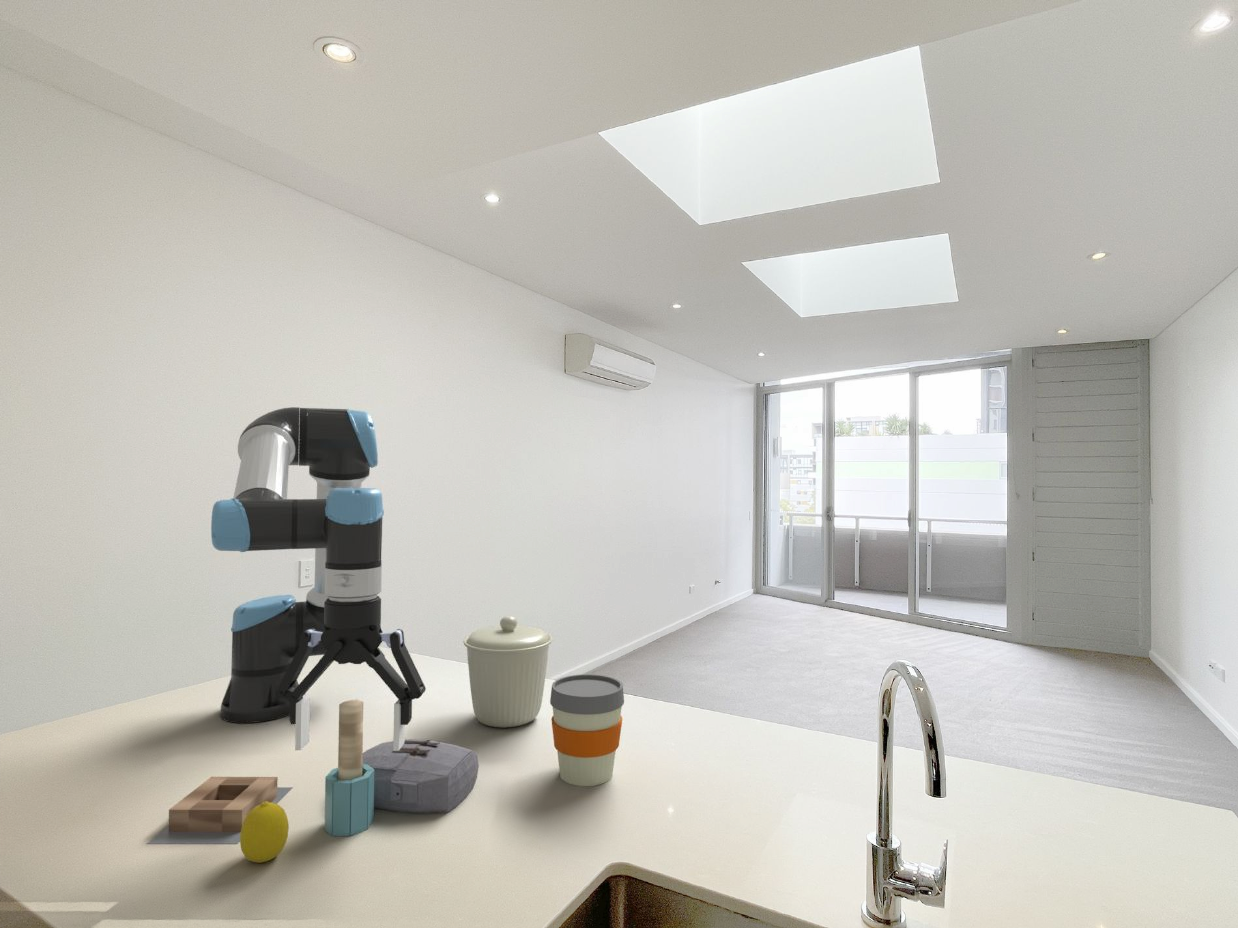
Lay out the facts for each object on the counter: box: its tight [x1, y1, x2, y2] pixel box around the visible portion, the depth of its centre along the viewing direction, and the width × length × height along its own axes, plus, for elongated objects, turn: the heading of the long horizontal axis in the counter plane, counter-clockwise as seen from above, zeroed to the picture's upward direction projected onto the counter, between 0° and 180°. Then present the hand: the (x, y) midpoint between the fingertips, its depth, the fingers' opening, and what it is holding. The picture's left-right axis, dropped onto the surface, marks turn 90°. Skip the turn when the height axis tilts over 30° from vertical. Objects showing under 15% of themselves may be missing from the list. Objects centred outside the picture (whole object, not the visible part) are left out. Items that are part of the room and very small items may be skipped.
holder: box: [168, 776, 278, 832], centre depth 98 cm, size 10×10×3 cm
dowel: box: [337, 699, 364, 780], centre depth 95 cm, size 3×3×17 cm
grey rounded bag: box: [362, 738, 480, 814], centre depth 105 cm, size 15×8×20 cm
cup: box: [324, 764, 375, 837], centre depth 95 cm, size 6×6×8 cm
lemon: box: [239, 801, 290, 864], centre depth 87 cm, size 6×6×8 cm
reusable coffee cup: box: [549, 673, 625, 787], centre depth 114 cm, size 13×12×15 cm
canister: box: [462, 615, 553, 728], centre depth 138 cm, size 18×18×21 cm
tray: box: [145, 786, 294, 845], centre depth 98 cm, size 16×12×1 cm
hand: (350, 746), depth 95 cm, fingers open, 13 cm apart
